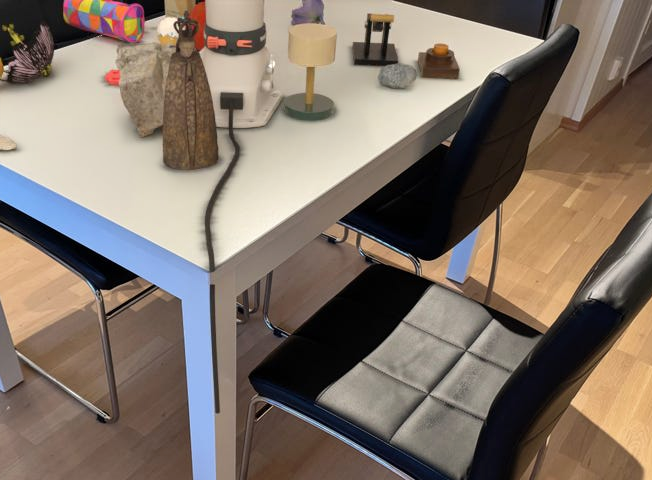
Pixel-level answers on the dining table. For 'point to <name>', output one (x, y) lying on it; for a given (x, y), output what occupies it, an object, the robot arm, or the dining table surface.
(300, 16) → the flower
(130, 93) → the stone
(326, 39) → the lamp
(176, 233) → the dining table surface
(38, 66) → the decorative flower
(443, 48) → the button
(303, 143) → the dining table surface
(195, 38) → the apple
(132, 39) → the pencil case
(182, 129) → the statue
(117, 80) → the building block
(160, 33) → the ornament
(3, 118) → the dining table surface
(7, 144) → the arrowhead
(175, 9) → the cosmetic box
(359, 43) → the switch bracket
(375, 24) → the switch lever
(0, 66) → the potato
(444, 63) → the button block
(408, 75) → the grey rock
